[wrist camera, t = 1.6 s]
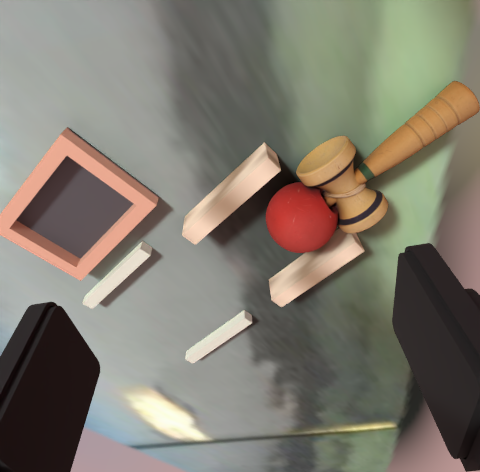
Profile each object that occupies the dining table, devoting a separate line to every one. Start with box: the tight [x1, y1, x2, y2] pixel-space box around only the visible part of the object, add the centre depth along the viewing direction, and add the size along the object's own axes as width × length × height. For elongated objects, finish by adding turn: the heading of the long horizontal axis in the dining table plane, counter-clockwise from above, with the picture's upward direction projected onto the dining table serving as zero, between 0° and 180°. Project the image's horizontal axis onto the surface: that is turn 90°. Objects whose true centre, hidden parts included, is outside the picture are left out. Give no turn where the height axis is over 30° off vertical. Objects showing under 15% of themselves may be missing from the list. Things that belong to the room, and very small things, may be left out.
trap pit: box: [0, 127, 159, 281], centre depth 33 cm, size 12×9×2 cm
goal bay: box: [82, 241, 252, 363], centre depth 41 cm, size 10×15×1 cm, turn 45°
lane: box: [182, 142, 364, 307], centre depth 34 cm, size 10×13×3 cm
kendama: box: [266, 81, 480, 253], centre depth 30 cm, size 8×6×18 cm
